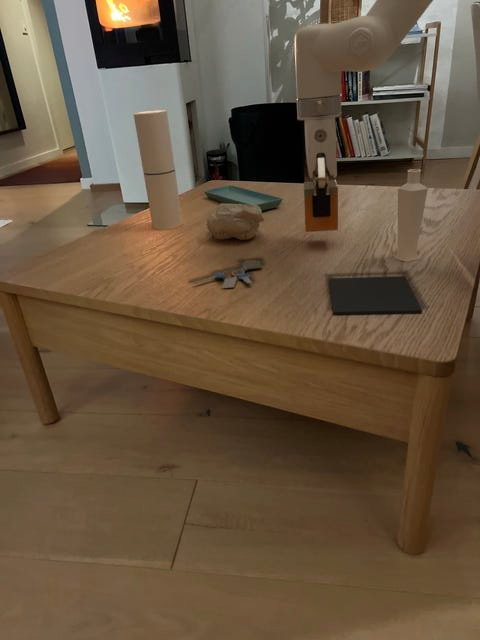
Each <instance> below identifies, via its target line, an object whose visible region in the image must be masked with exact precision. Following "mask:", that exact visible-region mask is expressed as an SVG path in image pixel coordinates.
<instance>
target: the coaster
mask: <svg viewBox="0 0 480 640" xmlns="http://www.w3.org/2000/svg"><path fill="white" fill-rule="evenodd" d="M328 285H329V286H328V287H329V292H330V300H331V307H332V315H333V316H346V315H347V316H349V315H350V316H353V315H390V314H391V315H400V314H401V315H403V314H406V315H407V314H423V309H422V307H421V305H420V302H419V300H418V299H417V296H416V295H415V293H414V291H413V289H412V287H411V285H410V283H409V281H408V278H407V277H406V275H398V276H397V275H395V276H364V277H363V276H361V277H360V276H359V277H329V278H328Z"/></svg>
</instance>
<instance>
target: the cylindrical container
mask: <svg viewBox="0 0 480 640" xmlns="http://www.w3.org/2000/svg"><path fill="white" fill-rule="evenodd" d="M168 116H169V115H168V110H167V109H161V110H160V109H158V110H148V111H139V112H134V113H133V119H134V126H135V132H136V136H137V142H138V148H139V155H140V160H141V161H140V162H141V166H142V167H141V168H142V173H143V178H144V184H145V189H146V196H147V201H148V202H147V203H148V206H149V213H150V218H151V225H152V228H153V230H158V231H168V230H173V229H177V228H180V227H182V226H183V218H182V209H181V203H180V196H179V188H178V181H177V174H176V166H175V158H174V153H173V152H174V151H173V145H172V139H171V130H170V123H169V118H168Z"/></svg>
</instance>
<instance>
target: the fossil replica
mask: <svg viewBox="0 0 480 640" xmlns="http://www.w3.org/2000/svg"><path fill="white" fill-rule="evenodd" d="M264 221H265V217H264V216H263V211H261V208H260V207H259V206H257V205H246V204H226V203H219V205H218V206H217V208H216V210H215V212H214V213H212V214H210V215H209V217H207V220H206V226H207V227H206V229H207V230H208V233H209V234H211V236H212V237H214V238H215V239H219V240H221V241H222V240H229V239H232V238H235V239H237V240H240V241H244V240H245V241H247V240H250V239H252V238H253V237H255V236H256V234H257V232H258V229H260V223H261V222H264Z"/></svg>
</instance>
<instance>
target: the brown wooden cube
mask: <svg viewBox="0 0 480 640" xmlns="http://www.w3.org/2000/svg"><path fill="white" fill-rule="evenodd" d="M316 183H317V182H316ZM316 189H317V188H316ZM329 194H330V210H331V215H330V216H329V217H313V206H312V195H314V190H313V182H312V181H303V203H304V205H303V206H304V230H305V233H311V232H313V233H314V232H328V231H329V232H330V231H332V232H333V231H339V185H338V184H337V180H336V179H329Z"/></svg>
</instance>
